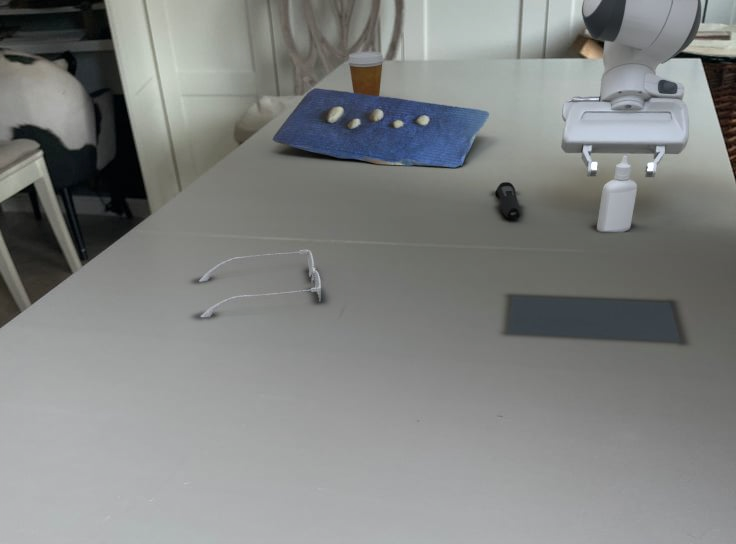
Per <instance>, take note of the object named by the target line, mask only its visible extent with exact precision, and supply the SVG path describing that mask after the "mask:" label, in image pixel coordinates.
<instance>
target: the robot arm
mask: <svg viewBox="0 0 736 544" xmlns="http://www.w3.org/2000/svg"><path fill="white" fill-rule="evenodd" d="M581 16H582V20H583V24H584V26H585V29H586V31H587V32H588V34H589V35H590V37H591V38H592V39H594V40H599V41H604V42H603V43H604V44H603V52H602V53H603V54H602V63H603V66H604V68H603V69H604V70H603V73H602V76H601V79H600V92H599V96H573V97H572V98H570V99H568V100H566V101H565V102H564V104H563V106H562V111H561V117H562V120H563V121H564V126H563V129H562V130H563V131H562V137H561V145H560V147H561V150H562V151H563V152H564V153H565V154H581V160H582V162H583V164H584V166H585V167H586V177H597V174H598V173H597V172H598V161H593V159H592V157H591V154H626V155H627V154H628V155H629V154H631V155H632V154H634V155H639V154H640V155H641V154H643V155H644V154H645V155H653V161H652V162H647V164H646V166H645V171H644V172H645V174H644V178H655V176H656V174H657V167H658V165H659V164H660V163H661V161H662V160H663V158H664V155H680V154H681V153H682V152H683V151H684V150H685V148H686V147H687V144H688V142H689V139H690V117H689V116H690V115H689V109H688V106H687V103H685V101H683V99H684V95H685V85H684V84H683V83H681V82H678V81H674V80H671V79H667V78H664V77H661V76H659V75H657V74H656V72H657V67H658V66H659V65H660V64H661V65H663V64H665V63H667V62H669V61H670V60H672V59H673V58H674V57H676V56H677V55H679V54H680V53H682V52H683V51H684V50H686V49H687V48H688V47H689V46H690V45H691V44H692V43H693V42H694V40H695V39H696V37H697V34H698V32H699V28H700V25H701V22H702V21H701V20H702V0H583V1H582V5H581Z"/></svg>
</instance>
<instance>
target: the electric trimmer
mask: <svg viewBox="0 0 736 544" xmlns="http://www.w3.org/2000/svg"><path fill="white" fill-rule="evenodd" d="M494 194H495V197H496V198H499V201H500V202H499V209H500V211H501V212H502V214H503V215H504V216H505V218H507V219H515V218H520V216H521V207H520V203H519V200H518V198H517V192H516V188H515V186H514V185H513V183H511V182H509V181H504V182H501V183H500V184H499V185H498V186H497V187H496V190H495V193H494Z"/></svg>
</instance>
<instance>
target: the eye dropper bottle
mask: <svg viewBox="0 0 736 544" xmlns="http://www.w3.org/2000/svg"><path fill="white" fill-rule="evenodd" d="M614 168H615V169H614V175H613V178H612V179H611V180H610V181H608V182H606V183H605V184H604V186H603V187H602V192H601V197H600V202H599V203H600V204H599V210H598V216H597V224H596V230H597V231H598V232H601V233H602V232H604V233H605V232H606V233H607V232H608V233H625V232H627V231H629V230H630V229H631V226H632V221H633V216H634V215H633V214H634V209H635V204H636V197H637V192H638V184H637V183H636V182H635V180H633V179H630V176H631V170H632V165H631V164H630V163H628V156H627V155H623V156H622V157H621V160H620V162H619V163H617V164H616V165H615V167H614Z"/></svg>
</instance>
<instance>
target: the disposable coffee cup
mask: <svg viewBox="0 0 736 544" xmlns="http://www.w3.org/2000/svg"><path fill="white" fill-rule="evenodd" d="M384 61H385V59H384V56H383V53H382V52H379V51H357V52H353V53H352V52H351V53H350V54H349V55H348V60H347V63H348V65H349V71H350V77H351V78H350V79H351V85H352V91H353V92H352V93H357V94H364V95H373V96H380V94H381V93H380V92H381V81H382V71H383V64H384Z"/></svg>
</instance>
